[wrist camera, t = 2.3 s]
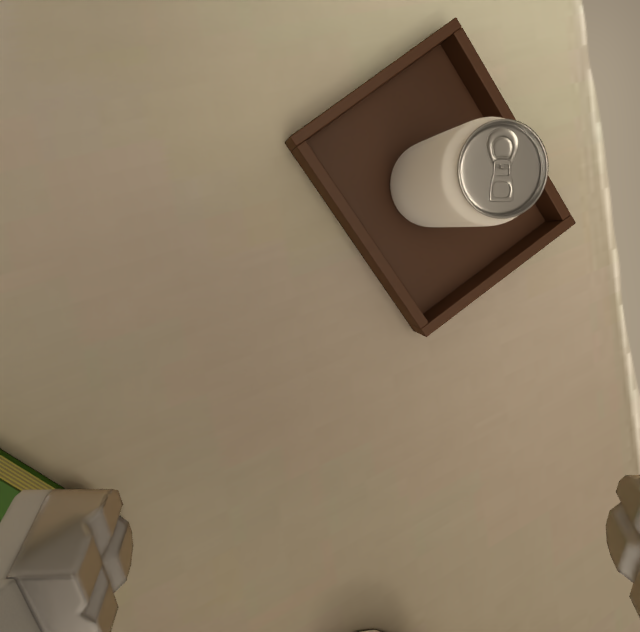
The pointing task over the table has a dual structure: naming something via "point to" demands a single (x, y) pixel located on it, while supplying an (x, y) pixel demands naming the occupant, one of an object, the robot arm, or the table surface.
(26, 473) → the hardcover book
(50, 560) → the robot arm
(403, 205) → the can
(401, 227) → the tray
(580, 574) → the table surface
